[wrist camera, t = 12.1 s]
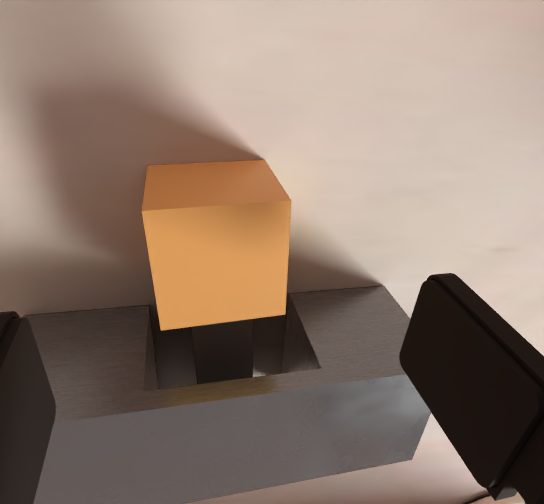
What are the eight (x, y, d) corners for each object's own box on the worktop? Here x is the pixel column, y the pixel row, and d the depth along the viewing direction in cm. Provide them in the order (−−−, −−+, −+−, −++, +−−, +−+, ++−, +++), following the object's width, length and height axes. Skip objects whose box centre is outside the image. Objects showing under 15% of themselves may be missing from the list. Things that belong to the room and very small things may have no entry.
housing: (362, 369, 23) (412, 459, 19) (54, 410, 20) (19, 535, 15) (384, 285, 20) (448, 368, 16) (23, 315, 17) (-33, 435, 12)
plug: (261, 392, 22) (277, 459, 19) (181, 406, 22) (184, 478, 18) (264, 159, 16) (291, 200, 12) (147, 165, 15) (141, 211, 11)
